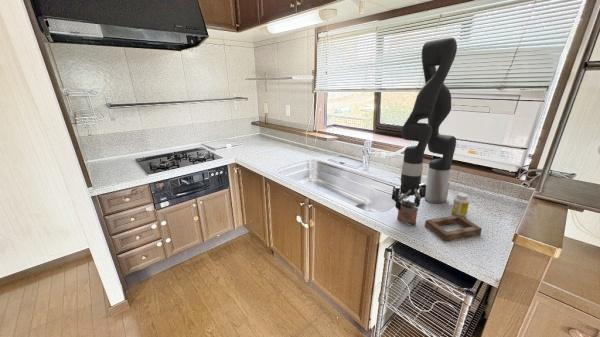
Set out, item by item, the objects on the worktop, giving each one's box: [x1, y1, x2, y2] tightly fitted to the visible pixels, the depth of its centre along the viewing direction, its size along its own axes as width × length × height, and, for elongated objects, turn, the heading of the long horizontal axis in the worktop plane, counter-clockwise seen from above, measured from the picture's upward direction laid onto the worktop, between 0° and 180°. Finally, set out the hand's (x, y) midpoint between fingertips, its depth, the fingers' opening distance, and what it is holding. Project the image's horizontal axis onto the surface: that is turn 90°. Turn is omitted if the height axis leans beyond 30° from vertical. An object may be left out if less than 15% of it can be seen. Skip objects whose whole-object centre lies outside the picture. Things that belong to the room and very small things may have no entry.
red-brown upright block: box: [396, 199, 419, 227], centre depth 104 cm, size 8×3×10 cm, turn 45°
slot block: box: [424, 214, 483, 243], centre depth 98 cm, size 16×11×3 cm
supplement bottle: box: [451, 192, 470, 218], centre depth 107 cm, size 6×6×10 cm
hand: (407, 207), depth 104 cm, fingers open, 8 cm apart
